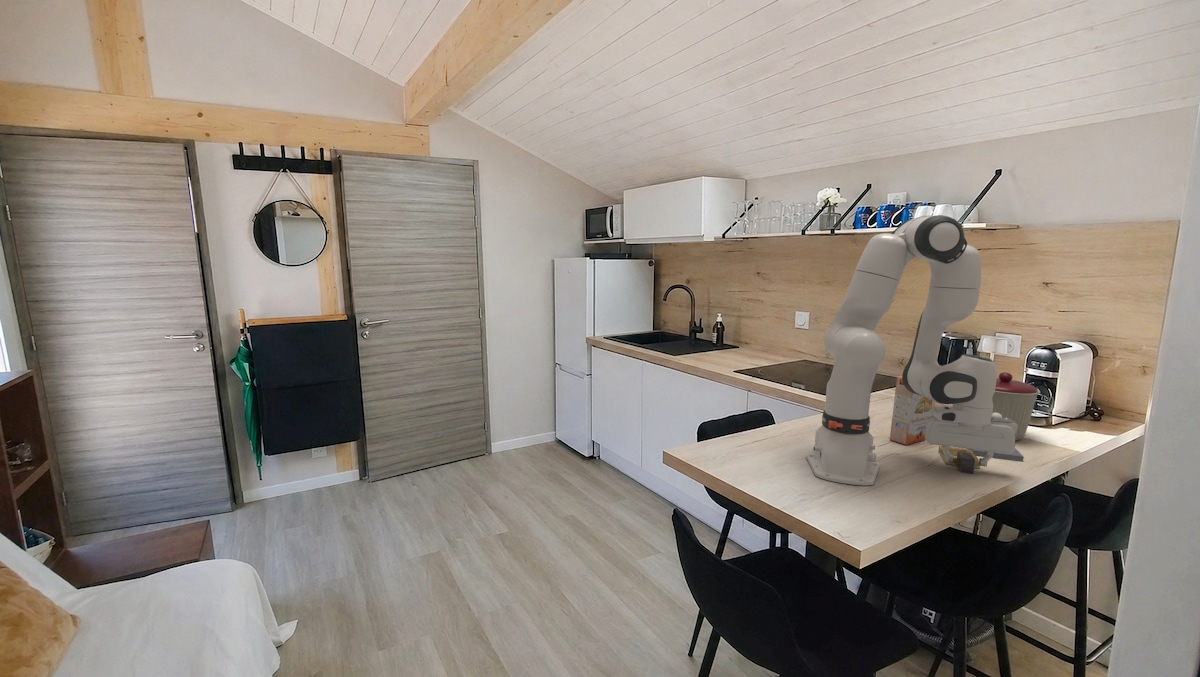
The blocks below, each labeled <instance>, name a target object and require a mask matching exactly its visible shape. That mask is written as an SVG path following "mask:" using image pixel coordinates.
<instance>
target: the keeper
mask: <svg viewBox="0 0 1200 677" xmlns="http://www.w3.org/2000/svg"><path fill="white" fill-rule="evenodd" d="M992 417H999V418H1002V415H1001V414H999V413H993V414H992ZM971 450H972V451H973V453H974V454H975V455H976V457H982V458H984V456H985V455H986V454H987V453H986V452H985V451H982V450H974V449H971ZM991 459H1001V460H1005V461H1006V460H1007V461H1016V462H1024V455H1023V454H1022V453H1021V452H1020V451H1019V450H1018V449H1017V448H1016V447H1015V450H1014V452H1012V453H1011V454H1007V453H999V452H994V455H993V457H992V458H991Z"/></svg>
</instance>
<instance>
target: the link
mask: <svg viewBox="0 0 1200 677" xmlns="http://www.w3.org/2000/svg"><path fill="white" fill-rule="evenodd" d="M947 451H948V453H949V454H952V456H953V459H952V460H953V462H947V461H946V460H945V457H946V454H945V452H944V450H943V448H942V446H941V445H938V451H937V452H938V454H939V456H940V457H941V459H942V461H943V462H944V464H946V465H951V466H956V467H957V469H958V471H959V472H960V473H967V474H974V470H975V469H980V467H981V466H980V465H979V458H978V456H976V455H975V454H974V453H973V451H972V450H971V449H966V448H958V447H950V448H949V450H947Z"/></svg>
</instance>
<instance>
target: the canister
mask: <svg viewBox="0 0 1200 677" xmlns="http://www.w3.org/2000/svg"><path fill="white" fill-rule="evenodd" d="M1013 378H1014V376H1013V375H1012V374H1011V373H1009V372H1000V373H999V374H998V378H997V379H996V388H995V393H994V394H993V397H992V402H993V412H992V414H993V413H999V414H1001V415H1002V418H1009V419H1012V420H1013V421H1015V422H1016V423H1017V425H1018V427H1017V432H1016V434H1015V441H1019V440H1021V439H1023V438H1024V437H1025V435H1026V433H1027V430H1028V427H1029V423H1030V421H1031V418H1032V414H1033V410H1034V407H1035V404H1036V400H1037V397H1038V395H1040V394H1041V391H1040V389H1038V388H1037V387H1035V386H1034V385H1033V384H1030V383H1027V382H1024V381H1018V380H1013ZM1011 423H1013V422H1011Z"/></svg>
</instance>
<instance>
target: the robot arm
mask: <svg viewBox="0 0 1200 677" xmlns="http://www.w3.org/2000/svg"><path fill="white" fill-rule="evenodd" d="M913 259H918V260H924V261H926V262H928V265H929V267H930V274H931V275H930V280H929V287H928V294H927V299H926V303H925V306H924V309H923V311H922V313H921V314H920V317H919V321H918V324H917V329H916V333H915V338H914V342H913V347H912V350H911V351H912V352H911V354H910V356H909V360H908V362H907V363H906V365H905V366H904V368H903V371H902V375H901V376H902V380H903V384H904V386H905V387H906V389H907V390H908V391H910V392H911V393H914V394H917V395H920V396H923V397H926V398H928V399H930V400H933V401H935V403H937V404H941V405H939V406H935V407H934V408H933V415H934V416H932V417H931V418H930V419H929V420H928V423H927V427H926V431H925V439H926V440H925V441H926V442H927V443H928V444H929V445H935V446H942V448H943V450H944V452H945V454H946V457H945V460H946V461H947V462H953V460H952V459H953V456H954V455H952V454H949V453H948V451H947V450H949V448H950V447H956V448H964V449H974V450H982V451H985V452H986V453H987V454H986V455H985V456H984V457H982V458H981V457H979V458H978V459H979V465H980V467H985V468H986V467H987V468H988V462H989V461H990V460H991V459H993V458H992V457H993V455H994V452H999V453H1007V454H1011V453H1012V452H1014V450H1015V448H1016V440H1015V434H1016V432H1017V427H1018V425H1017V423H1016V422H1015V421H1013V420H1012V419H1009V418H999V417H992V412H993V402H992V397H993V394H994V393H995V388H996V379H997V377H998V376H997V375H998V374H997V373H998V372H997V365H996V363H995V362H994V361H993V360H992V359H990V358H987V357H984V356H979V355H976V354H971V353H965V354H962V355H961V356H960V358H958V359H956V360H953V361H952V362H950V363H948V364H944V365H940V364H939V363H938V354H939V351H940V346H941V342H942V339H943V338H942V337H943V334H944V332H945V330H947V328H948V327H950V326H951V325H954V324H955V323H958V322H961V321H963V320H966V319H967V318H968V317H970V316H971V315H972V314H973V313H974V312H975V310H976V307H977V306H978V303H979V298H980V290H981V282H982V265H981V264H982V261H981V254H980V251H979V250H978V249H977V248H976V247H974V246H972V245H969V244H968V242H967V240H966V238H965V232H964V229H963V227H962V225H961V224H960V222H959V221H957V220H956V219H954V218H953V217H950V216H947V215H943V214H942V215H941V214H937V215H922V216H917V217H914V218H909V219H907V220H905V221H904V222H902V223H901V224H900V225H898V226H897V228H896V229H894V230H892V232H890V233H887V232H886V233H885V232H884V233H878V234H876V235H874V236H872V237H871V238H870V239H869V241H868V242H867V244H866V245H865V247H864V249H863V251H862V254H861V255H860V257H859V259H858V262H857V264H856V267H855V269H854V273H853V275H852V277H851V282H850V284H849V286H848V290H847V292H846V294H845V297H844V300H843V301H842V304H841V306H840V307H839V308H838V311H837V313H836V314H835V317H834V318H833V320H832V322H831V324H830V326H829V327H828V328H827V329H826V331H825V332H824V335H823V343H824V346H825V350H826V351H827V353H828V354H829V355H830V356H831V357H833V358H834V360H833V367H832V371H831V375H830V377H829V380H828V381H827V383H826V392H825V402H824V410H823V412H822V415H821V416H822V417H821V424H822V425H821V426H820V427H818V428H817V429H816V430H815V435H814V446H813V451H812V452H807V453H806V456H805V459H807V460H806V461H807V462H808V464H809V467H810V469H811V470H812V472H813V474H814V476H816V478H818V479H819V478H820V479H823V480H826V481H830V482H833V483H841V484H845V485H854V486H873V485H874V484H875V482H876V479H877V476H878V474H879V470H880V467H881V465H880V463H879V462H878V461H877V462H876V460H877V453H874V452H873V451H875V449H876V444H874V440H875V439H874V438H875V437H874V436H873V435H872V434H871V433H870V432H869V431H870V425H871V420H870V419H871V416H870V415H869V412H870V405H871V404H870V403H871V394H872V387H873V384H874V381H875V378H876V375H877V372H878V369H879V366H880V365H881V363H882V362H883V360H884V359H885V356H886V347H885V344H884V342H883V340H882V339H881V338H880V336H879V334H877V333H876V332H875V329H876V327H877V326H878V325H879V323H880V322H881V320H882V318H883V317H884V315H885V314H887V313H888V312H889V311H890V309H891V306H892V303H893V300H894V299H895V295H896V292H897V289H898V287H899V285H900V281H901V278H902V275H903V273H904V270H905V268H906V266H907V265H908V264H909V262H910V261H911V260H913ZM1011 422H1013V423H1011Z"/></svg>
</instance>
